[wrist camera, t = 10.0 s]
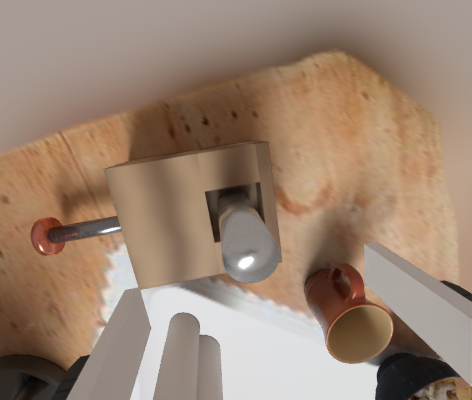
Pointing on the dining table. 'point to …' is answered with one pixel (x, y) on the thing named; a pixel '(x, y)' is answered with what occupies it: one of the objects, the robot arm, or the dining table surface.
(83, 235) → the lock pin
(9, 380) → the robot arm
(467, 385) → the bowl
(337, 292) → the mug
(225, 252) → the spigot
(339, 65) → the dining table surface
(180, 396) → the vase
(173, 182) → the dock
